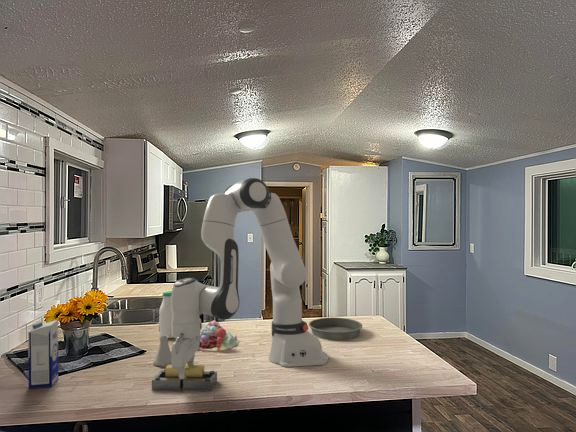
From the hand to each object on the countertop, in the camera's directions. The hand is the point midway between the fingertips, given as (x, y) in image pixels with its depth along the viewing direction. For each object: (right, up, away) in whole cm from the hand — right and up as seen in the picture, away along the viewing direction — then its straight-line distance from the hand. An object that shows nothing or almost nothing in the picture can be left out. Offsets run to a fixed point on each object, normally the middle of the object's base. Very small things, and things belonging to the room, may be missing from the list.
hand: (186, 372), depth 140 cm
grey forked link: (+5, -4, 0) cm, 6 cm away
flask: (-13, -4, +20) cm, 24 cm away
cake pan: (+54, -4, +59) cm, 81 cm away
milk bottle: (-21, -4, +54) cm, 58 cm away
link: (-5, -4, 0) cm, 7 cm away
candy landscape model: (-1, -4, +45) cm, 46 cm away
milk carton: (-47, -4, +2) cm, 47 cm away
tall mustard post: (-1, -3, 0) cm, 3 cm away
